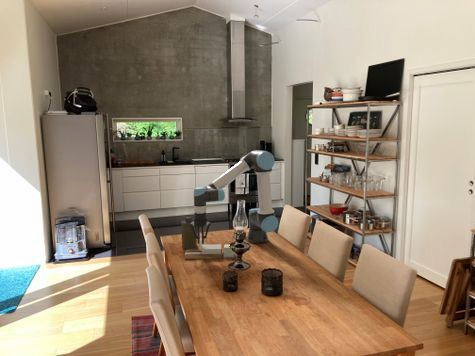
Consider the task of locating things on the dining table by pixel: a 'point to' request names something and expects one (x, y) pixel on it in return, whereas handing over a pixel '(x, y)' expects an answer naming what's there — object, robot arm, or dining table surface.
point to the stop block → (228, 251)
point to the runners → (200, 254)
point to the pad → (229, 257)
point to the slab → (211, 249)
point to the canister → (188, 233)
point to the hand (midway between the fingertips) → (201, 248)
